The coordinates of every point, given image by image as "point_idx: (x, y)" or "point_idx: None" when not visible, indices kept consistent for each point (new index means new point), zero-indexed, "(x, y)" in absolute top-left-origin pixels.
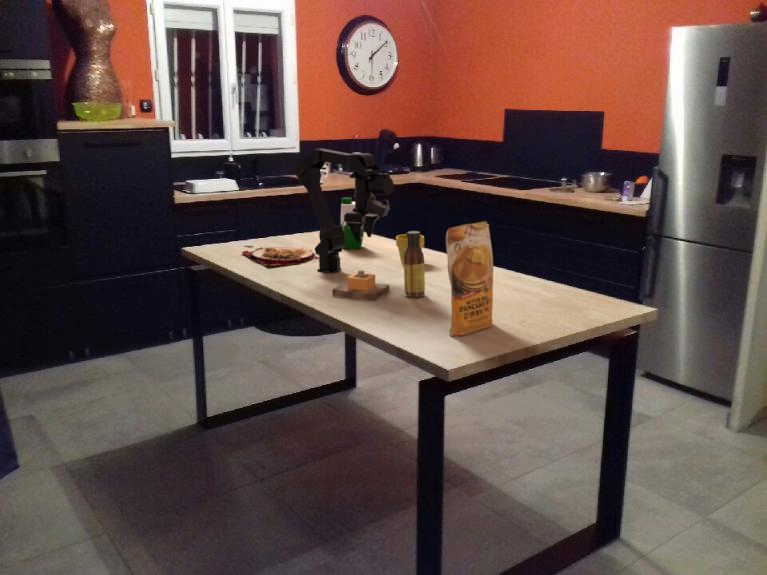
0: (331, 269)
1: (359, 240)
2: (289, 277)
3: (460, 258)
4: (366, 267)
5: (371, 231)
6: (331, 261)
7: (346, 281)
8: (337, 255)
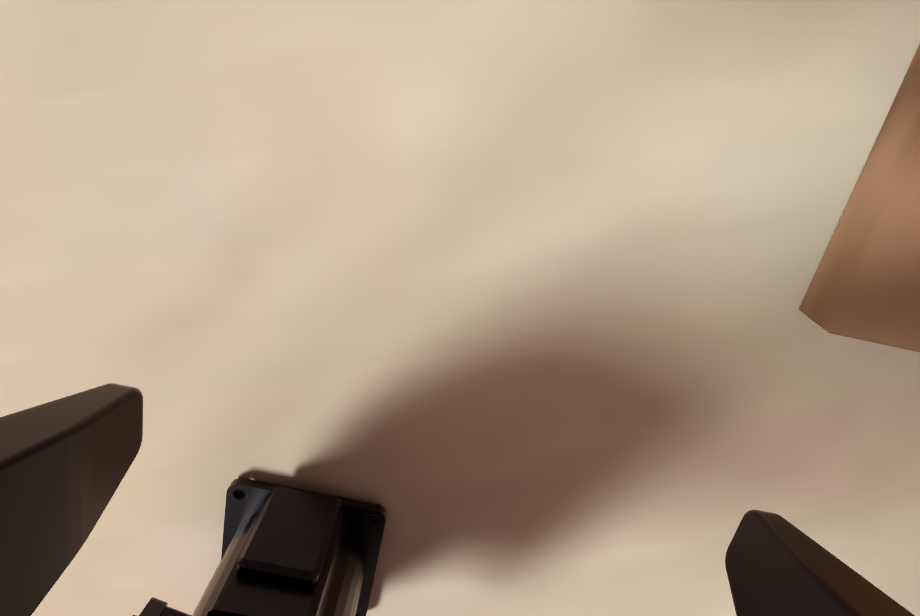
0: (352, 539)
1: (808, 537)
2: None
3: None
4: (85, 286)
5: (41, 445)
6: (335, 595)
7: (884, 343)
8: (257, 598)
